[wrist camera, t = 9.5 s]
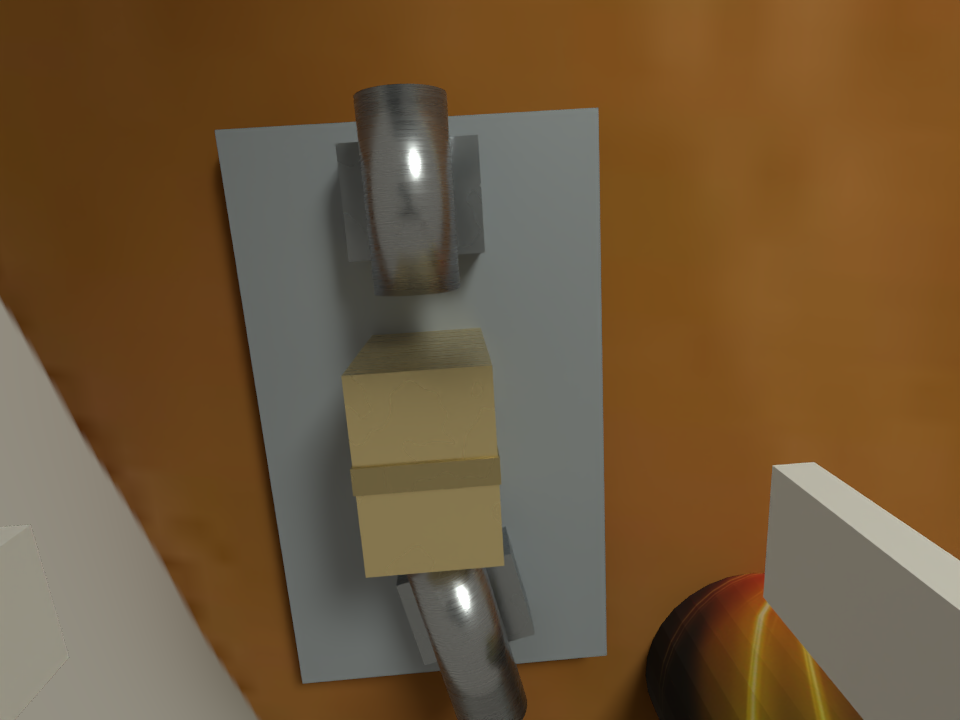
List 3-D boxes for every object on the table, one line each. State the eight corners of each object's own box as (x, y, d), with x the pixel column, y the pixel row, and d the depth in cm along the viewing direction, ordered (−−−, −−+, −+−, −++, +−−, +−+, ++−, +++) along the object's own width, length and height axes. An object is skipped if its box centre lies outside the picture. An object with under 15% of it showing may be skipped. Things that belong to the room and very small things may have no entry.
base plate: (231, 137, 20) (214, 130, 19) (587, 116, 21) (598, 107, 19) (311, 657, 25) (302, 683, 24) (597, 631, 26) (606, 655, 24)
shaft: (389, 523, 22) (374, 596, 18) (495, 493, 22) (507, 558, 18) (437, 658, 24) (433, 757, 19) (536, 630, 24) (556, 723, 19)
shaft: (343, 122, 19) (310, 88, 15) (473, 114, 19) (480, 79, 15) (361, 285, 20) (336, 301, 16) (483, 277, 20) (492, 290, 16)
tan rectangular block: (491, 477, 22) (506, 567, 16) (386, 486, 22) (363, 580, 16) (482, 327, 21) (494, 365, 15) (370, 335, 21) (338, 377, 15)
